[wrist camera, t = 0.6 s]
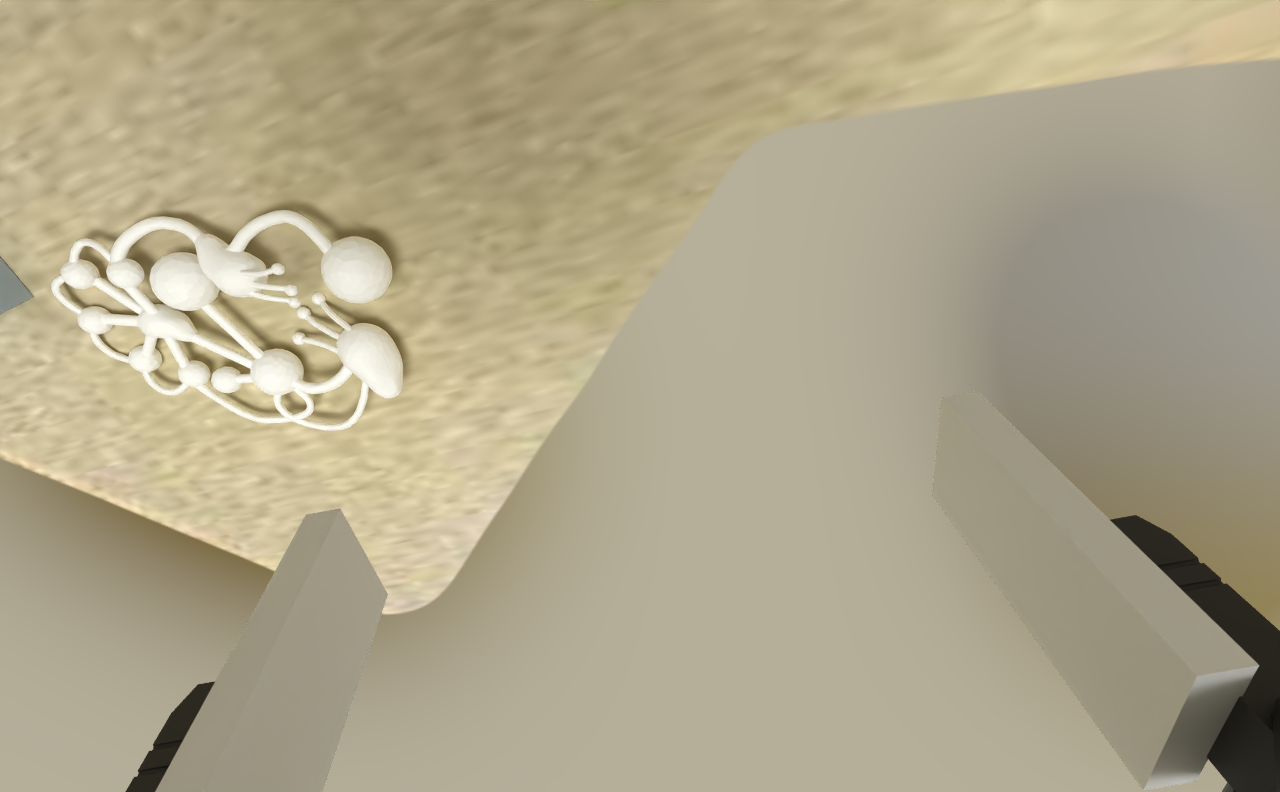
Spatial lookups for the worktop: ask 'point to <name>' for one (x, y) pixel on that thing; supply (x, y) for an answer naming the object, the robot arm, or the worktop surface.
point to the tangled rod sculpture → (194, 284)
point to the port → (11, 289)
